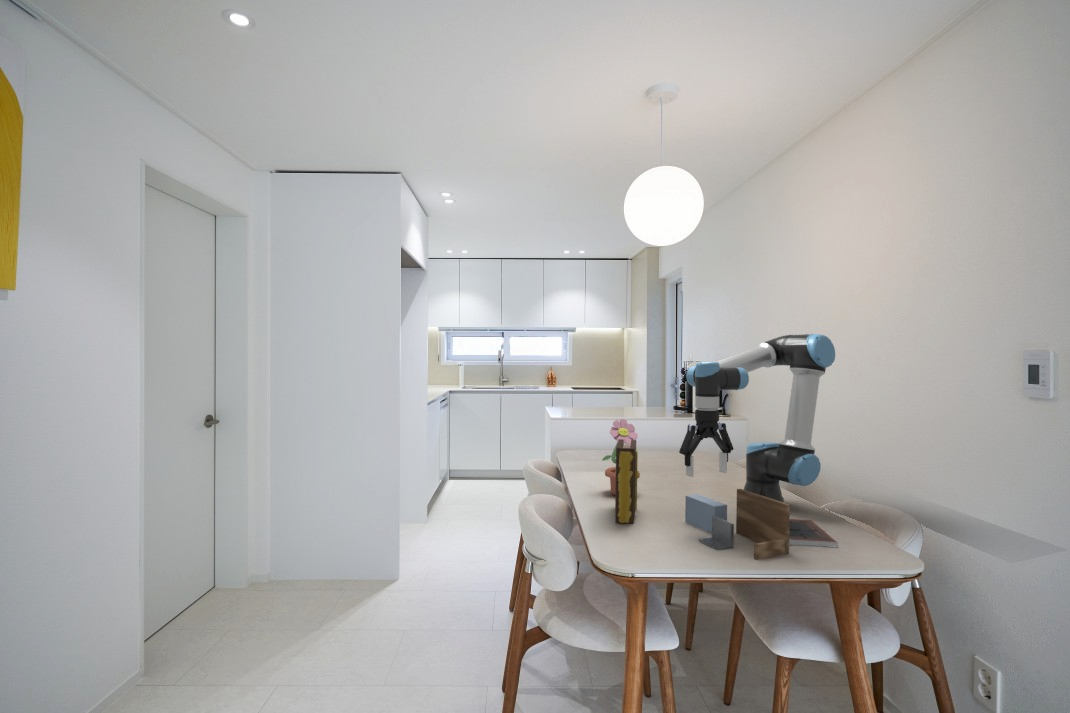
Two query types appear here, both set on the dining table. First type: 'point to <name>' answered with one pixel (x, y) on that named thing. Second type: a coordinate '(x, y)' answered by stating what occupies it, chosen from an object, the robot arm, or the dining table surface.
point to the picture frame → (808, 534)
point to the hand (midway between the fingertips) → (706, 474)
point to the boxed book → (703, 511)
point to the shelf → (763, 523)
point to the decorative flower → (620, 432)
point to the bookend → (720, 534)
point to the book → (626, 482)
